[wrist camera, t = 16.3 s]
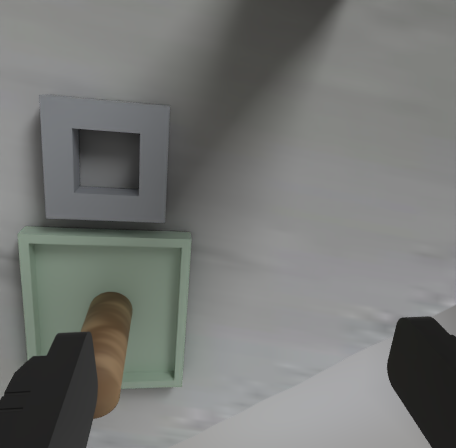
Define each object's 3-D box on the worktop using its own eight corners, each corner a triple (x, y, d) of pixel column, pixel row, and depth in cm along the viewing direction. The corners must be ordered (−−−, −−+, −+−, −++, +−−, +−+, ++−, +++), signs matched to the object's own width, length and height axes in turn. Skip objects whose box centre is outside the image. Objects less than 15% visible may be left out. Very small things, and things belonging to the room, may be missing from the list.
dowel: (132, 291, 46) (120, 370, 33) (132, 328, 48) (119, 417, 35) (88, 291, 45) (57, 372, 32) (89, 328, 47) (59, 420, 34)
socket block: (169, 105, 41) (170, 106, 38) (165, 214, 45) (165, 222, 42) (48, 94, 39) (39, 94, 36) (53, 210, 42) (45, 218, 40)
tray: (190, 232, 46) (191, 239, 43) (181, 373, 52) (181, 386, 49) (25, 226, 43) (17, 234, 40) (36, 377, 49) (30, 391, 46)
